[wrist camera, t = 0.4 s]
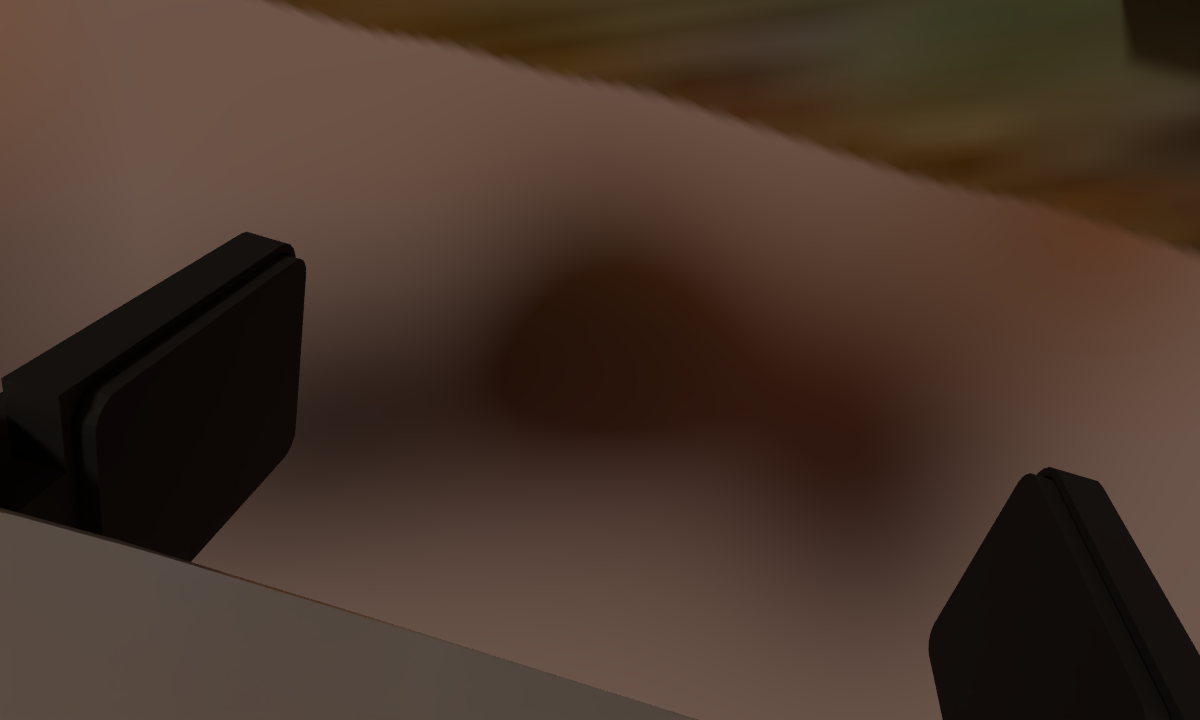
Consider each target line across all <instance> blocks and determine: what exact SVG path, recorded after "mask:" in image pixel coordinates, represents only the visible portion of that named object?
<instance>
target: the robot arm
mask: <svg viewBox="0 0 1200 720" xmlns="http://www.w3.org/2000/svg"><path fill="white" fill-rule="evenodd" d="M305 281H306V266H305V263H304V261H303V260H301V259H298V258H295V252H294V249H293V247H292V246H291V245H290V244H286V243H283V242H280V241H276V240H272V239H269V238H266V237H263V236H259V235H256V234H252V233H249V232H245V233H242V234H240V235H238V236H236V237H235V238H233V239H231V240H230V241H228V242H227V243H225V244H223V245H222V246H220V247H218V248H217V249H215V250H213V251H212V252H210V253H208V254H207V255H205V256H203V257H202V258H200V259H199V260H197V261H195V262H193V263H192V264H190V265H188V266H187V267H185V268H184V269H182V270H180V271H179V272H177V273H175V274H173V275H172V276H170V277H168V278H167V279H165V280H164V281H162V282H160V283H159V284H157V285H155V286H154V287H152V288H150V289H149V290H147V291H145V292H144V293H142V294H141V295H139V296H137V297H135V298H134V299H132V300H130V301H129V302H127V303H125V304H124V305H122V306H120V307H119V308H117V309H115V310H114V311H112V312H111V313H109V314H107V315H106V316H104V317H102V318H101V319H99V320H97V321H96V322H94V323H92V324H91V325H89V326H87V327H86V328H84V329H83V330H81V331H79V332H77V333H76V334H74V335H72V336H71V337H69V338H67V339H66V340H64V341H62V342H61V343H59V344H58V345H56V346H54V347H53V348H51V349H49V350H48V351H46V352H44V353H43V354H41V355H40V356H38V357H36V358H34V359H33V360H31V361H29V362H28V363H26V364H25V365H23V366H21V367H19V368H18V369H16V370H14V371H13V372H11V373H9V374H8V375H6V376H4V377H3V378H1V379H2V387H3V392H1V393H0V720H697V719H694V718H691V717H688V716H684V715H681V714H678V713H675V712H672V711H668V710H665V709H662V708H659V707H656V706H652V705H649V704H646V703H643V702H640V701H636V700H633V699H630V698H627V697H623V696H621V695H617V694H614V693H611V692H608V691H604V690H601V689H598V688H594V687H591V686H588V685H585V684H582V683H579V682H576V681H572V680H569V679H566V678H563V677H560V676H556V675H553V674H550V673H547V672H543V671H540V670H537V669H534V668H531V667H528V666H525V665H521V664H518V663H515V662H512V661H508V660H505V659H502V658H499V657H496V656H492V655H489V654H486V653H483V652H480V651H477V650H473V649H470V648H467V647H464V646H461V645H457V644H454V643H451V642H448V641H445V640H441V639H438V638H435V637H432V636H429V635H425V634H422V633H419V632H416V631H412V630H410V629H406V628H403V627H400V626H397V625H393V624H390V623H387V622H384V621H380V620H377V619H374V618H371V617H368V616H365V615H362V614H358V613H355V612H352V611H349V610H345V609H342V608H339V607H336V606H332V605H329V604H326V603H323V602H319V601H316V600H312V599H309V598H306V597H303V596H300V595H296V594H293V593H290V592H286V591H283V590H280V589H277V588H274V587H270V586H267V585H263V584H260V583H257V582H254V581H251V580H247V579H244V578H241V577H238V576H234V575H231V574H228V573H224V572H221V571H218V570H215V569H212V568H208V567H205V566H202V565H199V564H195V563H192V562H191V561H192V560H193V559H194V558H195V557H196V555H197V554H198V553H199V552H200V551H201V550H202V549H203V548H204V547H205V545H206V544H207V543H208V542H209V541H210V540H211V539H212V538H213V536H214V535H215V534H216V533H217V532H218V531H219V530H220V529H221V528H222V526H223V525H224V524H225V523H226V522H227V521H228V520H229V519H230V518H231V516H232V515H233V514H234V513H235V512H236V511H237V510H238V509H239V508H240V506H241V505H242V504H243V503H244V502H245V501H246V500H247V499H248V497H249V496H250V495H251V494H252V493H253V492H254V491H255V490H256V489H257V487H258V486H259V485H260V484H261V483H262V482H263V481H264V480H265V478H266V477H267V476H268V475H269V474H270V473H271V472H272V471H273V469H274V468H275V467H276V466H277V465H278V464H279V463H280V461H282V460H283V458H284V457H285V456H286V454H287V453H288V451H289V449H290V447H291V445H292V442H293V438H294V435H295V429H296V415H297V400H298V385H299V384H298V383H299V370H300V355H301V340H302V325H303V311H304V296H305ZM929 657H930V662H931V666H932V671H933V675H934V680H935V685H936V690H937V694H938V699H939V704H940V709H941V713H942V718H943V720H1200V655H1199V653H1198V651H1197V650H1196V648H1195V646H1194V645H1193V643H1192V641H1191V639H1190V638H1189V636H1188V634H1187V633H1186V631H1185V629H1184V627H1183V625H1182V624H1181V622H1180V620H1179V618H1178V617H1177V615H1176V613H1175V612H1174V610H1173V608H1172V606H1171V605H1170V603H1169V601H1168V599H1167V598H1166V596H1165V594H1164V592H1163V591H1162V589H1161V587H1160V585H1159V584H1158V582H1157V580H1156V579H1155V577H1154V575H1153V573H1152V572H1151V570H1150V568H1149V566H1148V565H1147V563H1146V562H1145V559H1144V558H1143V556H1142V554H1141V552H1140V551H1139V549H1138V547H1137V546H1136V544H1135V542H1134V540H1133V539H1132V537H1131V535H1130V533H1129V532H1128V530H1127V528H1126V526H1125V525H1124V523H1123V521H1122V520H1121V518H1120V516H1119V515H1118V513H1117V511H1116V509H1115V507H1114V506H1113V504H1112V502H1111V500H1110V499H1109V497H1108V495H1107V493H1106V492H1105V490H1104V488H1103V487H1102V485H1101V484H1100V483H1099V482H1098V481H1095V480H1092V479H1088V478H1085V477H1082V476H1078V475H1075V474H1071V473H1068V472H1065V471H1061V470H1058V469H1055V468H1051V467H1048V468H1044V469H1043V470H1041V471H1040V472H1039V473H1038V474H1037V475H1034V474H1031V473H1029V474H1026V475H1025V476H1023V477H1022V478H1021V480H1020V481H1019V482H1018V484H1017V485H1016V487H1015V489H1014V490H1013V492H1012V494H1011V496H1010V497H1009V499H1008V501H1007V502H1006V504H1005V506H1004V507H1003V509H1002V511H1001V512H1000V514H999V516H998V517H997V519H996V521H995V523H994V524H993V526H992V527H991V529H990V531H989V532H988V534H987V536H986V538H985V539H984V541H983V543H982V544H981V546H980V548H979V549H978V551H977V553H976V555H975V556H974V558H973V559H972V561H971V563H970V564H969V566H968V568H967V570H966V571H965V573H964V575H963V576H962V578H961V580H960V581H959V583H958V585H957V586H956V588H955V590H954V591H953V593H952V595H951V596H950V598H949V600H948V601H947V603H946V605H945V607H944V608H943V610H942V612H941V613H940V615H939V617H938V618H937V620H936V622H935V623H934V626H933V628H932V631H931V634H930V639H929Z"/></svg>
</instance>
